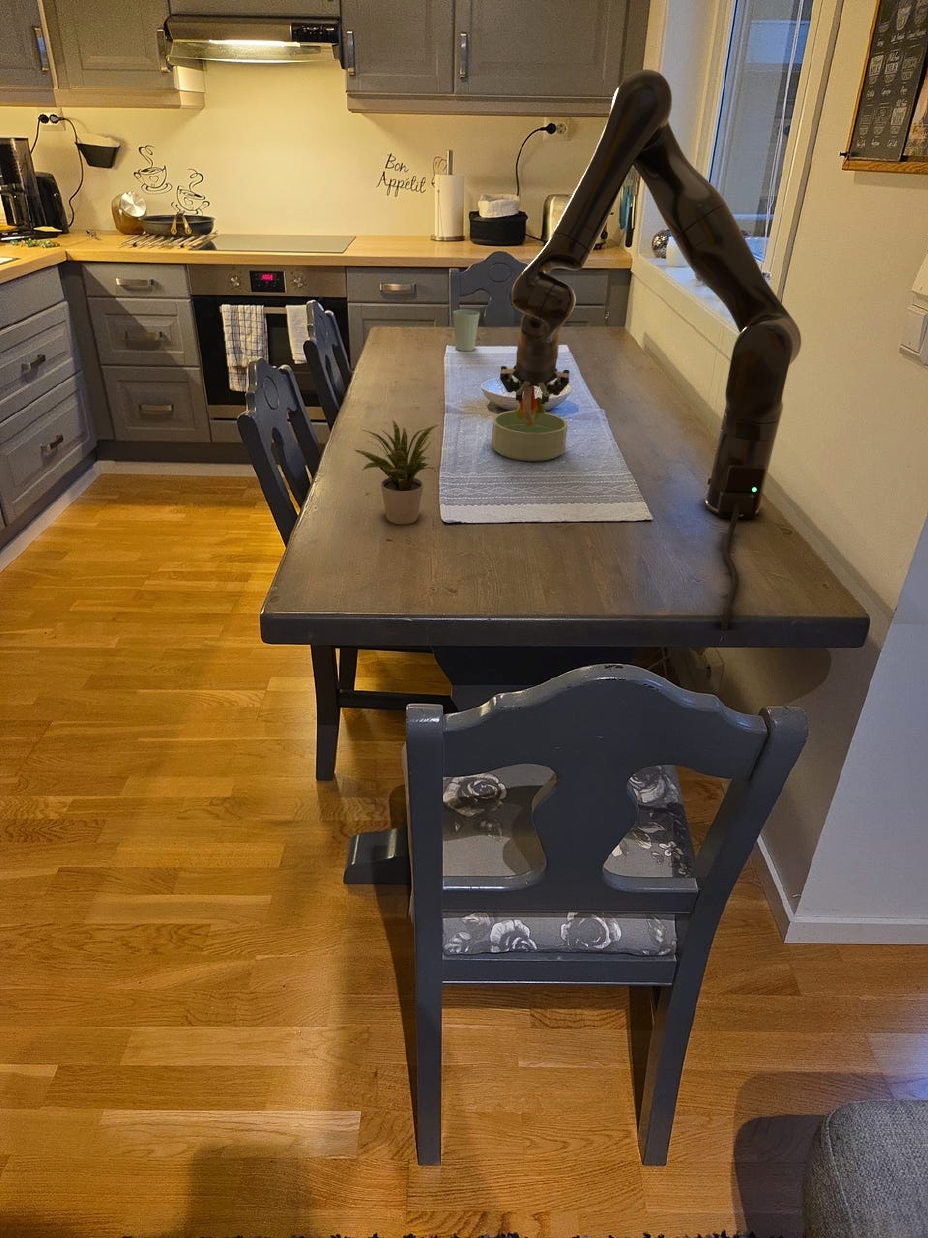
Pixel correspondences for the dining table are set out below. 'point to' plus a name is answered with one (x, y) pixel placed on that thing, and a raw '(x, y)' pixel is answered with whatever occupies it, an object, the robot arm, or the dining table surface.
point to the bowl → (529, 437)
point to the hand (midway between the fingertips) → (531, 399)
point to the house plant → (401, 475)
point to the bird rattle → (530, 407)
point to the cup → (465, 329)
